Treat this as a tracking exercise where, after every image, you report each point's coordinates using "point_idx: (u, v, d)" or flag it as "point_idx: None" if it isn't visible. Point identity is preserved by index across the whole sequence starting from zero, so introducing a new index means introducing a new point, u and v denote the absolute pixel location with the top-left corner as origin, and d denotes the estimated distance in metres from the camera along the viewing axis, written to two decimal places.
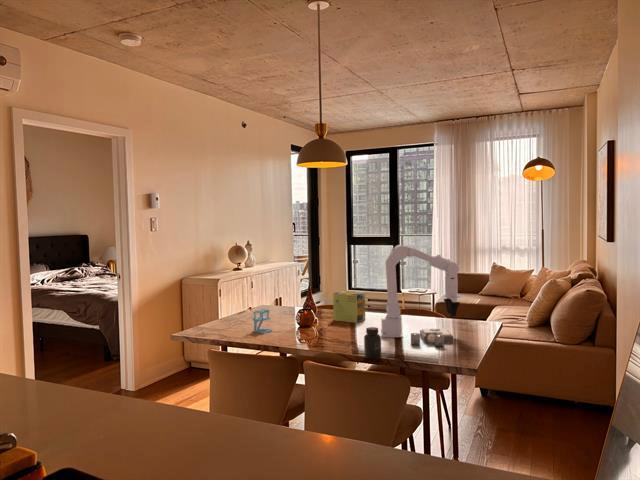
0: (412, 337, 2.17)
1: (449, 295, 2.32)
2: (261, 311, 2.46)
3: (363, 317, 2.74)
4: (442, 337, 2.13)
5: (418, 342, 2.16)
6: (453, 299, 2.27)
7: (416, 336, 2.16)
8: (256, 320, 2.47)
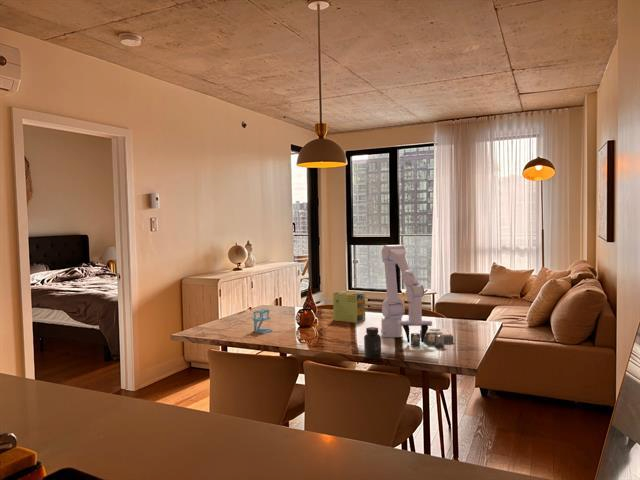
0: (412, 337, 2.17)
1: None
2: (261, 311, 2.46)
3: (363, 317, 2.74)
4: (442, 337, 2.13)
5: (418, 342, 2.16)
6: (398, 322, 2.18)
7: (416, 336, 2.16)
8: (256, 320, 2.47)
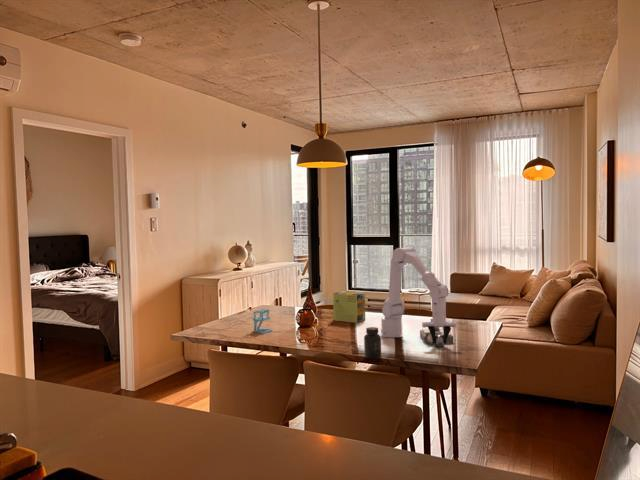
0: None
1: None
2: (261, 311, 2.46)
3: (363, 317, 2.74)
4: (442, 337, 2.13)
5: (437, 327, 2.28)
6: (422, 323, 2.15)
7: None
8: (256, 320, 2.47)
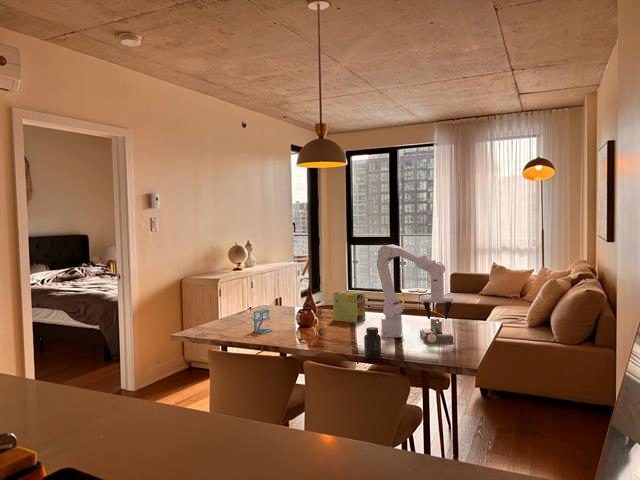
0: (431, 322, 2.29)
1: None
2: (261, 311, 2.46)
3: (363, 317, 2.74)
4: (440, 323, 2.22)
5: None
6: (421, 300, 2.24)
7: None
8: (256, 320, 2.47)
